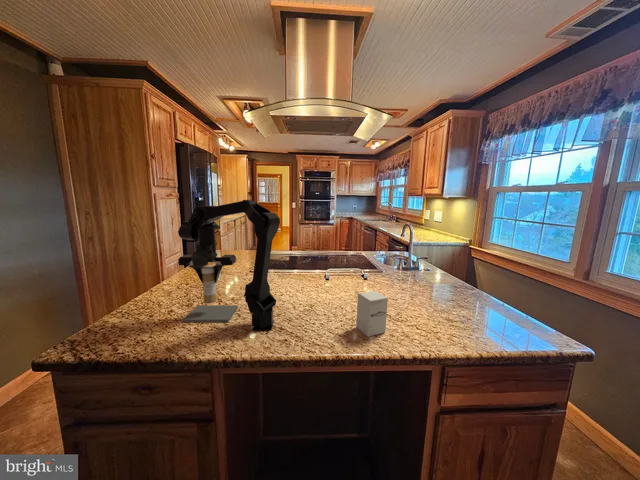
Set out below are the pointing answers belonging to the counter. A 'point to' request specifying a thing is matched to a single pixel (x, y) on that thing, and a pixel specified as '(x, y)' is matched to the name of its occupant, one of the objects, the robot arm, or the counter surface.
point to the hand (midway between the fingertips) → (209, 282)
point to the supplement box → (371, 313)
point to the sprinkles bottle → (209, 285)
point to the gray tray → (211, 313)
